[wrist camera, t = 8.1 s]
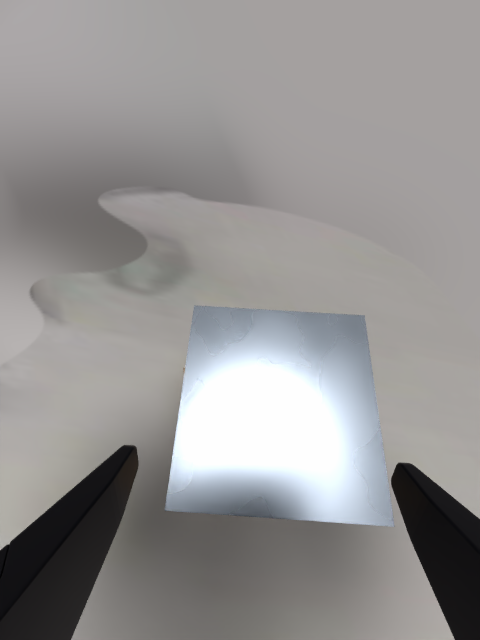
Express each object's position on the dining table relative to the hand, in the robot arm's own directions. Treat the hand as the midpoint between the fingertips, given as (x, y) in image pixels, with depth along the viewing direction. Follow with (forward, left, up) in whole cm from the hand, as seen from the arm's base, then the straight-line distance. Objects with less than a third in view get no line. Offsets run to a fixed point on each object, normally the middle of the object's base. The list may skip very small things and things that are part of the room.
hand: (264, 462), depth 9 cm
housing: (+2, 0, -10) cm, 10 cm away
